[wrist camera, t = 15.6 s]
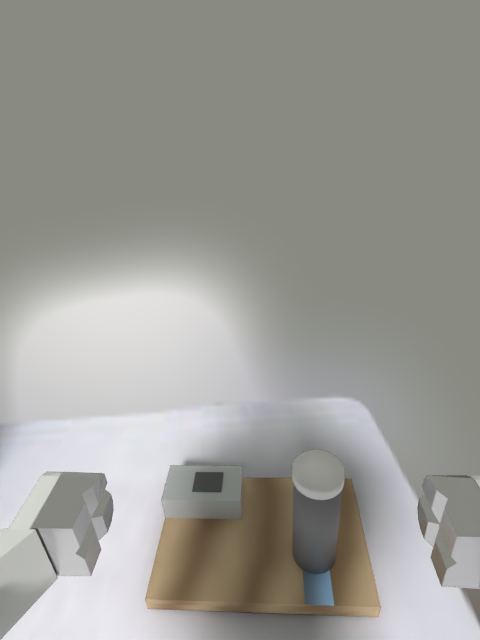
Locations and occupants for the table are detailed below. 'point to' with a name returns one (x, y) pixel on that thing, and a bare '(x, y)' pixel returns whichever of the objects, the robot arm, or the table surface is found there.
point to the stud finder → (203, 492)
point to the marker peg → (316, 509)
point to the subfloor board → (261, 561)
